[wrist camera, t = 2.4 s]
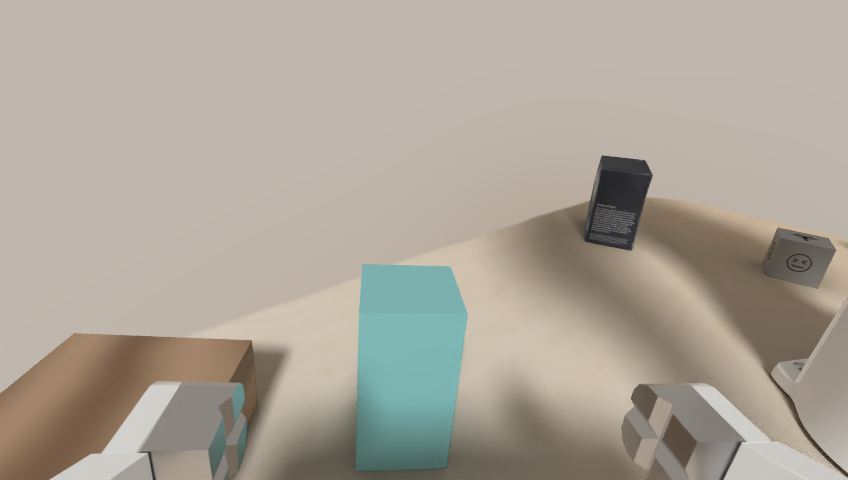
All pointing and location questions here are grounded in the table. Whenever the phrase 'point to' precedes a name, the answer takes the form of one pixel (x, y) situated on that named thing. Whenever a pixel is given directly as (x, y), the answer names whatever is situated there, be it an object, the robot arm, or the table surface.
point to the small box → (617, 201)
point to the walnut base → (103, 394)
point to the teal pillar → (407, 366)
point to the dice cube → (798, 257)
